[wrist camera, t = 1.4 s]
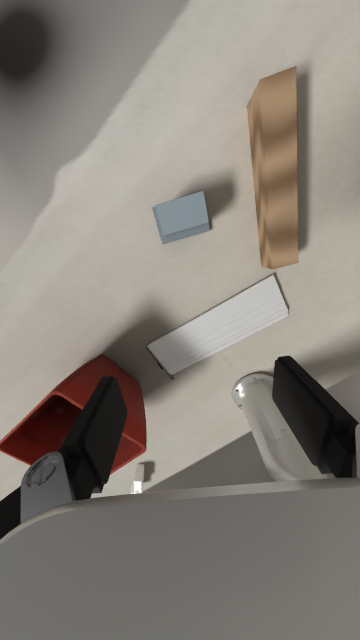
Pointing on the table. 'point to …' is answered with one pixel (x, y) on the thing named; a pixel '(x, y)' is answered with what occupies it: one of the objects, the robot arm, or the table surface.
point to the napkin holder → (138, 479)
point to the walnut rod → (275, 167)
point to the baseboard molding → (221, 326)
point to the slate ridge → (182, 217)
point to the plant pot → (66, 405)
